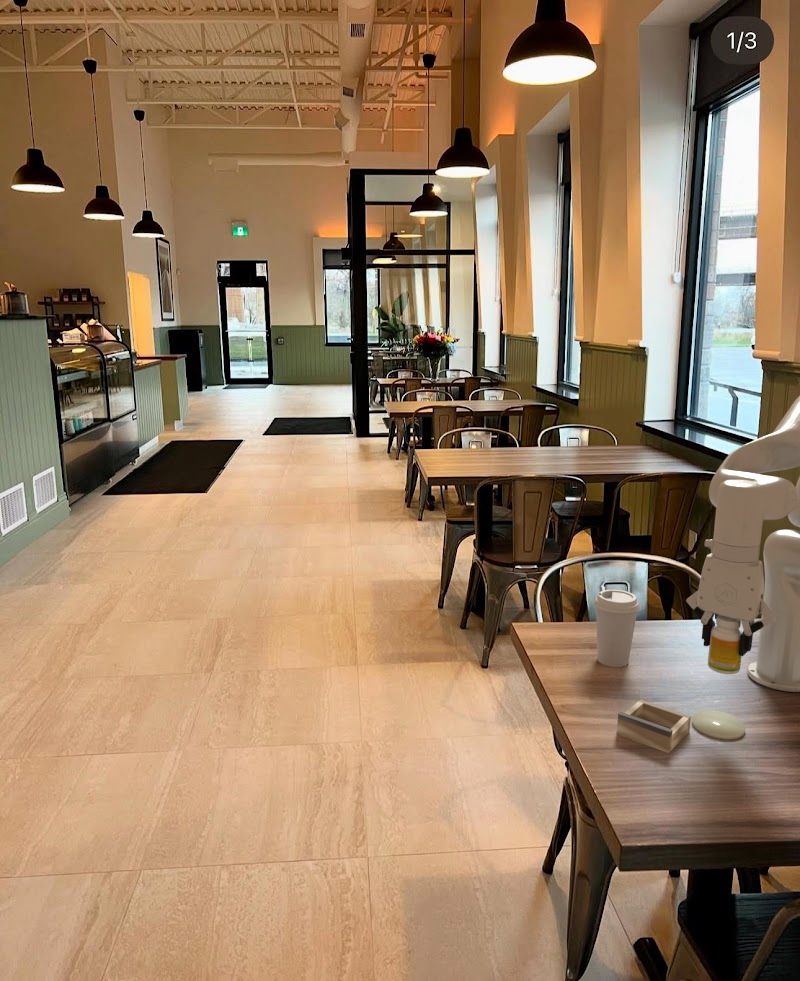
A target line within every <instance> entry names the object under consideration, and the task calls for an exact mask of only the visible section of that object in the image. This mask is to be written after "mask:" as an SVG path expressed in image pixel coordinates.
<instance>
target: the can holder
mask: <svg viewBox="0 0 800 981" xmlns="http://www.w3.org/2000/svg"><path fill="white" fill-rule="evenodd" d="M691 722H692V716H691V715H687V714H685V713H681V712H680V711H676V710H673V709H670V708H668V707H664V706H661V705H658V704H655V703H652V702H650V701H645V700H643V699H639V700H638V701H637V702H635V704H633V705H632V706H631V707H630V708H629V709H627V710H626V712H624V711H623V712H622V711H620V712H619V713H617V727H616V735H619V736H620V737H624V738H626V739H629V740H631V741H634V742H637V743H640V744H643V745H645V746H648V747H650V748H653V749H656V750H659V751H662V752H663V753H667V754H670V753H671V751H673V749H674V748H675V747H676V746H677V745H678V744H679V743H680V742H681V741H682V740H683V739H684V738H685V737H686V736H687V735H688V734H689V733H690V729H691Z"/></svg>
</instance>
